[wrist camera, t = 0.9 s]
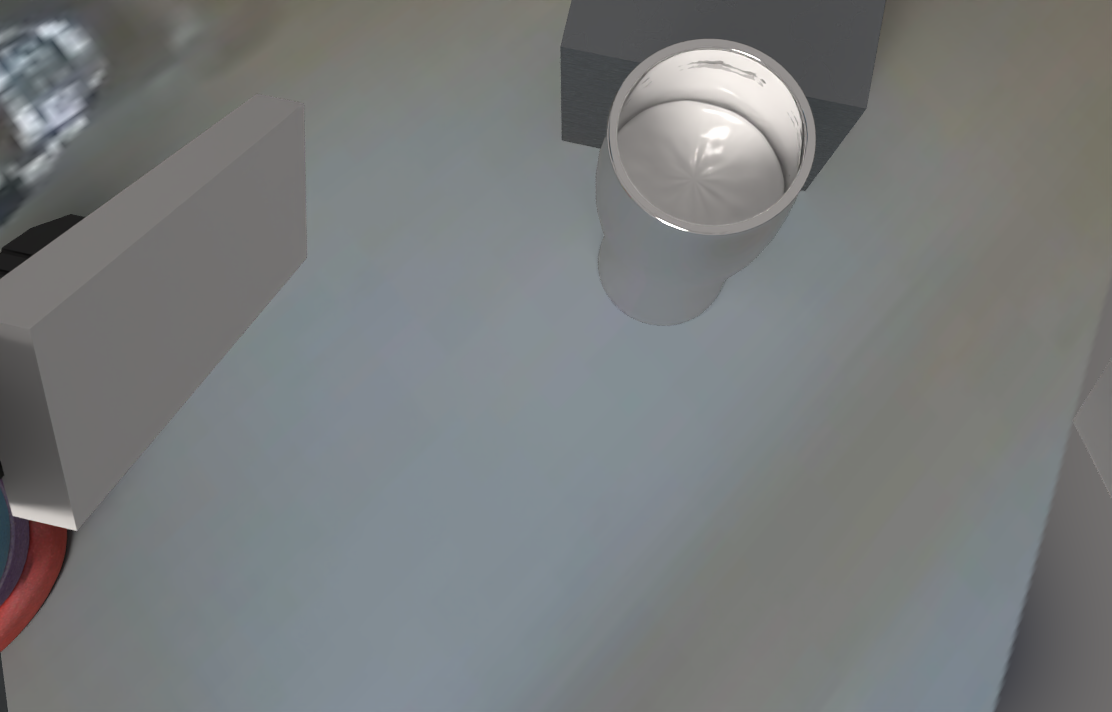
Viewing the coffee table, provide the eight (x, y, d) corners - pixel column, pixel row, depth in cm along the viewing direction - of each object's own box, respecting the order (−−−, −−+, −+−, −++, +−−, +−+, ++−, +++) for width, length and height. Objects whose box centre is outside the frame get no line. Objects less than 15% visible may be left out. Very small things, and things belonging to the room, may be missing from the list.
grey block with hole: (805, 190, 43) (866, 108, 35) (561, 140, 44) (560, 46, 35) (826, 77, 44) (891, -32, 36) (588, 28, 45) (593, -90, 36)
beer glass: (687, 363, 42) (753, 283, 27) (560, 287, 43) (557, 168, 28) (761, 241, 43) (863, 99, 28) (636, 168, 44) (672, -7, 29)
